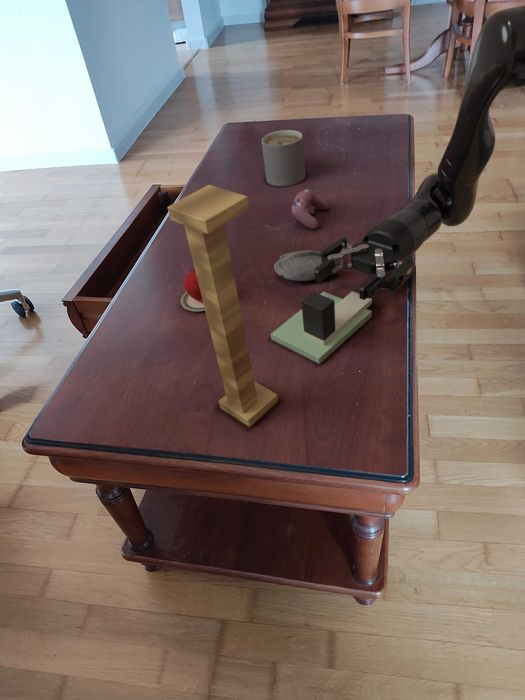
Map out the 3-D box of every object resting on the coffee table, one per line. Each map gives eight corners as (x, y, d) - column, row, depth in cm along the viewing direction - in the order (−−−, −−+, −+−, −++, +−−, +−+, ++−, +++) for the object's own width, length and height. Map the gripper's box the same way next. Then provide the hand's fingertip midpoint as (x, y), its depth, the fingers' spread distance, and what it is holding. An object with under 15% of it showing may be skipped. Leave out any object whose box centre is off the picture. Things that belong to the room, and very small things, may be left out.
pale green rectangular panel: (371, 316, 85) (371, 310, 84) (319, 364, 78) (319, 358, 78) (323, 296, 91) (323, 291, 90) (271, 339, 84) (270, 334, 83)
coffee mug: (304, 184, 125) (301, 143, 119) (264, 187, 127) (259, 147, 120) (306, 162, 135) (304, 123, 129) (269, 165, 137) (264, 126, 130)
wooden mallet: (372, 303, 86) (373, 268, 81) (324, 346, 79) (322, 310, 75) (352, 295, 88) (352, 260, 83) (304, 336, 82) (301, 301, 77)
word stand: (278, 401, 74) (247, 196, 53) (249, 427, 71) (205, 221, 50) (248, 383, 77) (208, 184, 56) (220, 408, 74) (166, 206, 53)
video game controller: (313, 213, 117) (298, 187, 114) (330, 206, 114) (315, 179, 111) (301, 236, 110) (284, 208, 107) (319, 228, 108) (302, 200, 105)
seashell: (340, 261, 99) (339, 238, 95) (338, 286, 93) (337, 263, 89) (279, 262, 101) (276, 239, 98) (273, 286, 95) (270, 264, 92)
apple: (176, 296, 97) (167, 266, 92) (215, 282, 98) (209, 253, 94) (189, 318, 91) (180, 288, 87) (230, 303, 93) (224, 273, 88)
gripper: (360, 208, 89) (301, 251, 81) (436, 229, 80) (378, 279, 73) (360, 246, 94) (304, 290, 86) (432, 270, 85) (377, 320, 77)
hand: (338, 285), depth 79 cm, fingers open, 8 cm apart
